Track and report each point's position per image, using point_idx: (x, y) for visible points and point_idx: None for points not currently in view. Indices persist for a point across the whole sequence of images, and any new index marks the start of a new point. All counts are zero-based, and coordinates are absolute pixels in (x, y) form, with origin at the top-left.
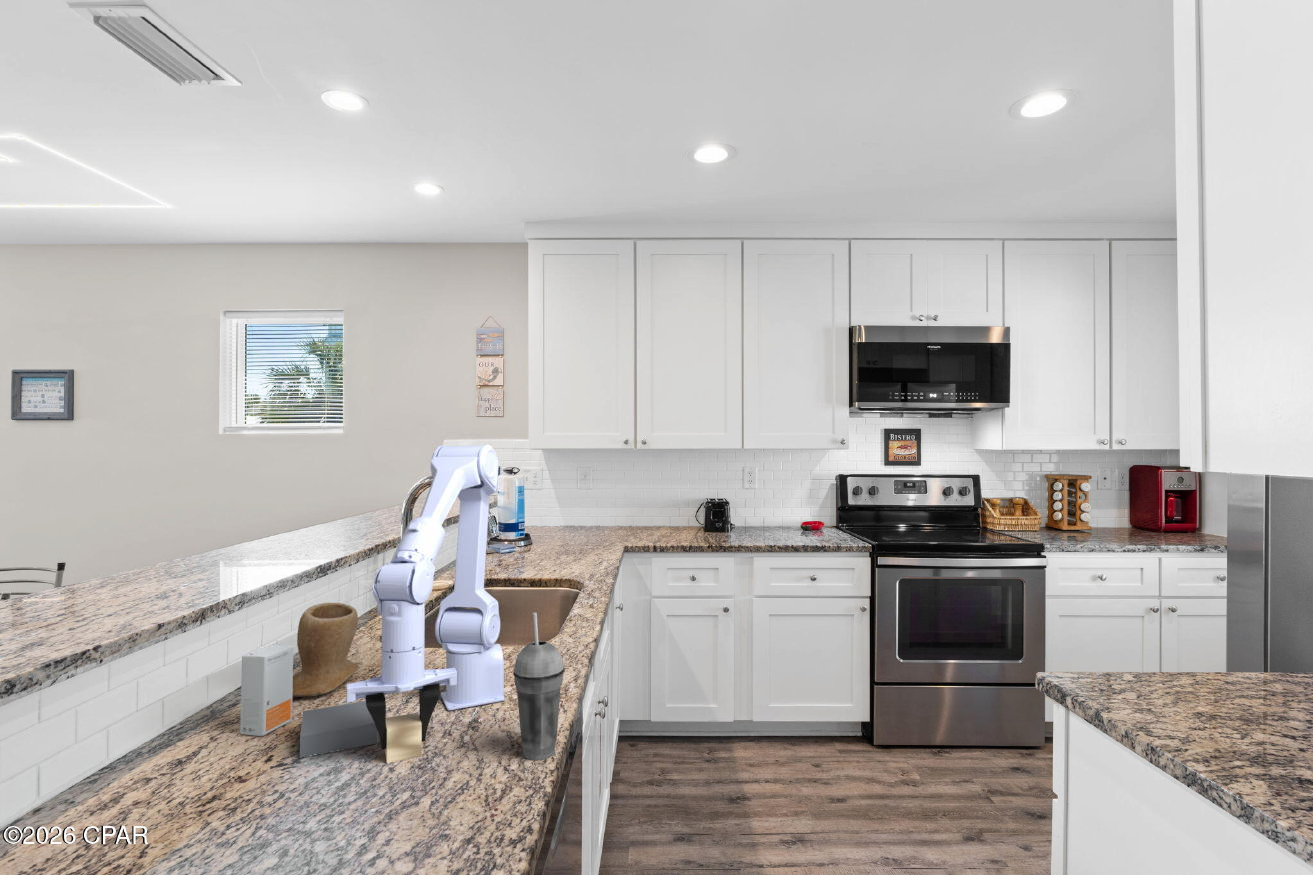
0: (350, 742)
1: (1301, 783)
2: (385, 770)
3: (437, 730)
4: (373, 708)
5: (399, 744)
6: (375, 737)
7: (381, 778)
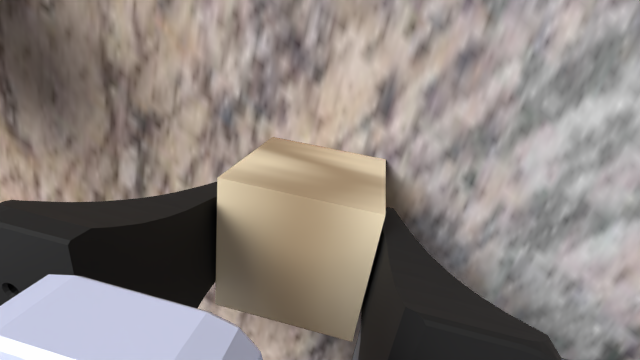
0: None
1: None
2: (407, 107)
3: None
4: (520, 333)
5: (335, 171)
6: None
7: (443, 48)
